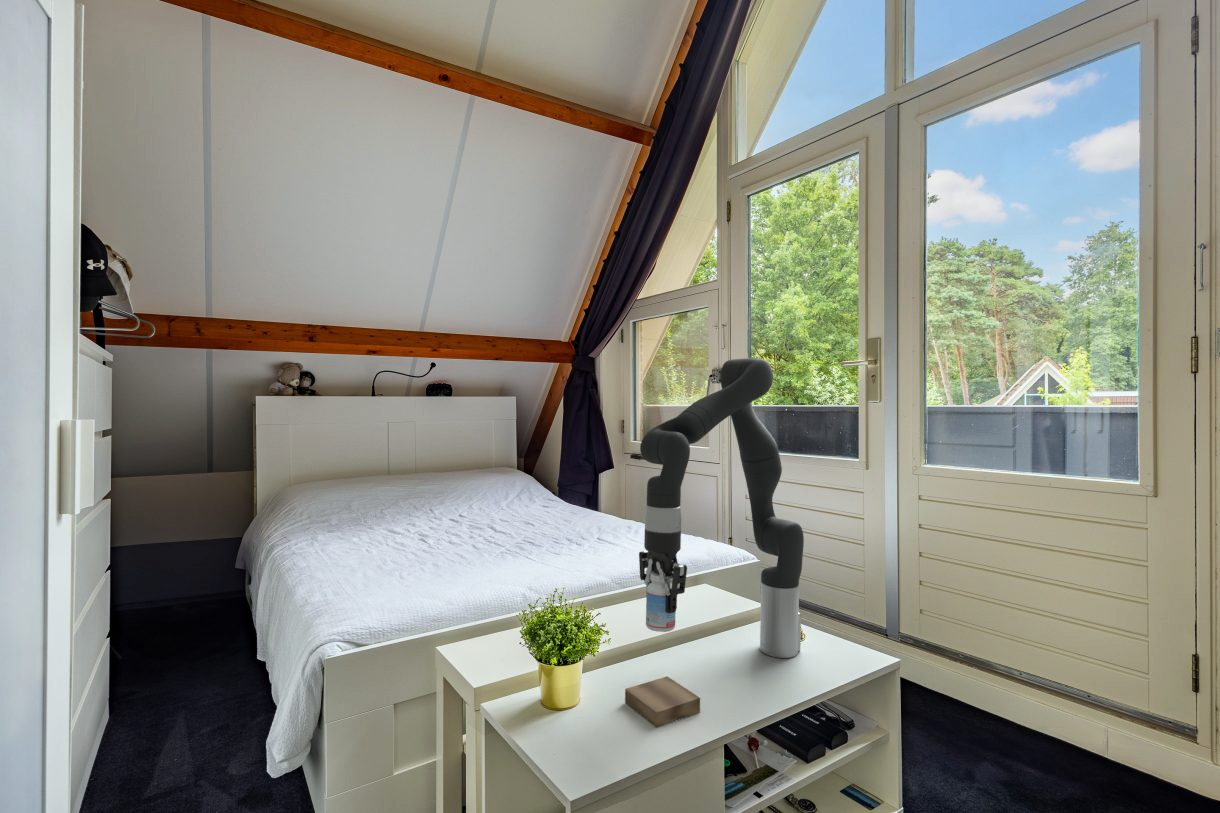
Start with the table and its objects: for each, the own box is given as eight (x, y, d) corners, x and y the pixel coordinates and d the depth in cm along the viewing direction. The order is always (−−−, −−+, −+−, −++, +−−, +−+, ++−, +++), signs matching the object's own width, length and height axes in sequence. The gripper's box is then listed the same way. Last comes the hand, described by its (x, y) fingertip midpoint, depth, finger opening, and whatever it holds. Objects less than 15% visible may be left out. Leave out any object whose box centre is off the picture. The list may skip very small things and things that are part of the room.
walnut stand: (667, 689, 134) (667, 676, 134) (700, 712, 125) (700, 697, 125) (625, 703, 128) (625, 688, 128) (656, 727, 119) (656, 712, 119)
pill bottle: (673, 634, 124) (674, 579, 124) (643, 631, 125) (644, 576, 125) (676, 623, 130) (678, 570, 130) (648, 620, 131) (649, 568, 131)
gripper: (699, 532, 123) (697, 615, 123) (657, 519, 136) (655, 595, 136) (669, 536, 119) (666, 622, 120) (628, 522, 132) (626, 600, 132)
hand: (660, 607), depth 128 cm, fingers closed on pill bottle, 6 cm apart
